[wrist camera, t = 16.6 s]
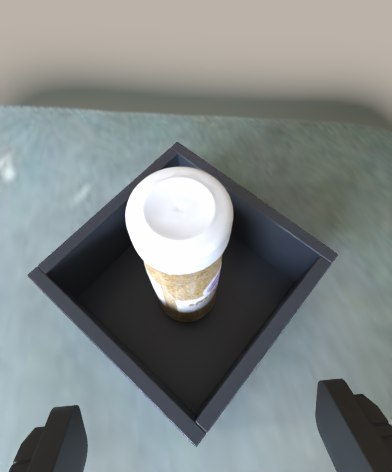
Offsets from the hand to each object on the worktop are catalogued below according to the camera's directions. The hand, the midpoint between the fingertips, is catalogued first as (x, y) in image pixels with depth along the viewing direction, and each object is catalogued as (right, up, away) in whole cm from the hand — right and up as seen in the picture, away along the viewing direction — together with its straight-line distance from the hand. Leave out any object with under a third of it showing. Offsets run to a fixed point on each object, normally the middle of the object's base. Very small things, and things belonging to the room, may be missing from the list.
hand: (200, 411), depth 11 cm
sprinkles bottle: (-1, +1, +15) cm, 15 cm away
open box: (-1, +1, +16) cm, 16 cm away
